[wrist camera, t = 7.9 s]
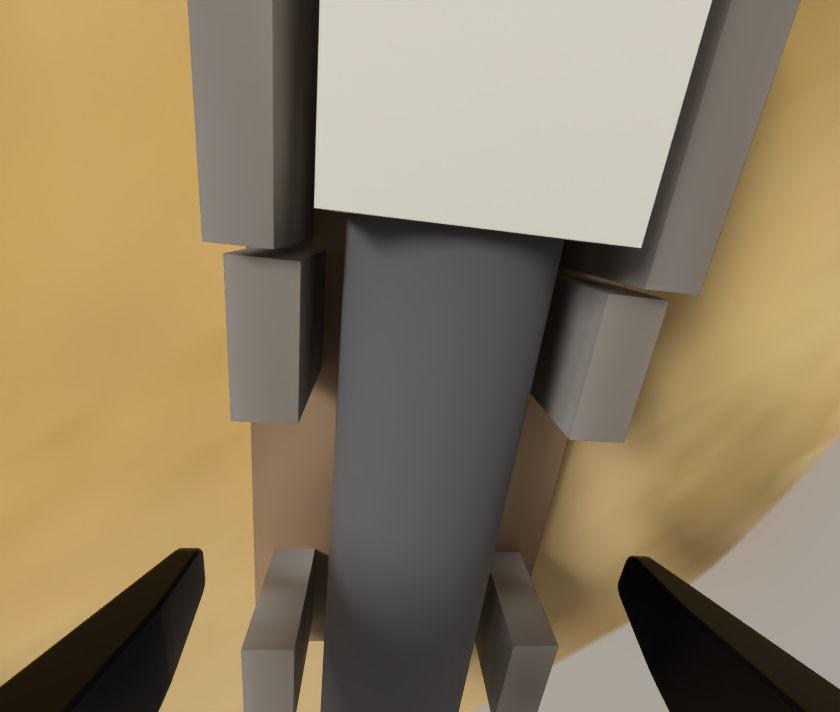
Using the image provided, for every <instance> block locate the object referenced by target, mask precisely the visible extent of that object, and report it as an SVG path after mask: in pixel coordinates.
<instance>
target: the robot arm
mask: <svg viewBox="0 0 840 712" xmlns="http://www.w3.org/2000/svg"><path fill="white" fill-rule="evenodd" d="M204 586H205V571H204V558H203V552H202V550H201V549H199V548H180V549H177V550H176V551H174V552H173V553H172V554H170V555H169V556H168V557H166V558H165V559H164V560H163V561H161V562H160V563H159V564H157V565H156V566H155V567H154V568H152V569H151V570H150V571H148V572H147V573H146V574H145V575H143V576H142V577H141V578H139V579H138V580H137V581H136V582H134V583H133V584H132V585H130V586H129V587H128V588H127V589H125V590H124V591H123V592H121V593H120V594H119V595H118V596H116V597H115V598H114V599H112V600H111V601H110V602H109V603H107V604H106V605H105V606H103V607H102V608H101V609H100V610H98V611H97V612H96V613H94V614H93V615H92V616H91V617H89V618H88V619H87V620H85V621H84V622H83V623H82V624H80V625H79V626H78V627H76V628H75V629H74V630H73V631H71V632H70V633H69V634H67V635H66V636H65V637H64V638H62V639H61V640H60V641H58V642H57V643H56V644H55V645H53V646H52V647H51V648H49V649H48V650H47V651H46V652H44V653H43V654H42V655H40V656H39V657H38V658H37V659H35V660H34V661H33V662H31V663H30V664H29V665H28V666H26V667H25V668H24V669H22V670H21V671H20V672H19V673H17V674H16V675H15V676H13V677H12V678H11V679H10V680H8V681H7V682H6V683H4V684H3V685H2V686H1V687H0V712H158V711H159V709H160V707H161V705H162V703H163V700H164V698H165V696H166V693H167V691H168V689H169V686H170V684H171V681H172V679H173V676H174V673H175V671H176V668H177V665H178V662H179V659H180V657H181V654H182V651H183V648H184V645H185V642H186V640H187V637H188V634H189V631H190V628H191V625H192V623H193V620H194V617H195V614H196V611H197V608H198V606H199V603H200V600H201V597H202V594H203V591H204ZM618 592H619V595H620V598H621V601H622V603H623V606H624V608H625V611H626V613H627V616H628V618H629V621H630V623H631V626H632V628H633V631H634V633H635V636H636V638H637V641H638V643H639V646H640V648H641V651H642V653H643V656H644V658H645V661H646V663H647V665H648V668H649V670H650V672H651V675H652V677H653V679H654V681H655V683H656V685H657V687H658V689H659V691H660V693H661V695H662V697H663V699H664V701H665V704H666V705H667V707H668V710H669V712H840V689H839V688H837V687H835V686H834V685H833V684H831V683H830V682H828V681H827V680H826V679H824V678H823V677H821V676H820V675H818V674H817V673H815V672H814V671H813V670H811V669H810V668H808V667H807V666H805V665H804V664H803V663H801V662H800V661H798V660H796V659H795V658H794V657H792V656H791V655H790V654H788V653H787V652H785V651H784V650H782V649H781V648H779V647H778V646H777V645H775V644H774V643H772V642H771V641H769V640H768V639H766V638H765V637H764V636H762V635H761V634H759V633H758V632H756V631H755V630H754V629H752V628H751V627H749V626H748V625H746V624H745V623H743V622H742V621H741V620H739V619H738V618H736V617H735V616H733V615H732V614H730V613H729V612H727V611H726V610H725V609H723V608H722V607H720V606H719V605H717V604H716V603H715V602H713V601H712V600H710V599H709V598H707V597H706V596H705V595H703V594H702V593H700V592H699V591H697V590H696V589H694V588H693V587H692V586H690V585H689V584H687V583H686V582H684V581H683V580H681V579H680V578H679V577H677V576H676V575H674V574H673V573H671V572H670V571H668V570H667V569H666V568H664V567H663V566H661V565H660V564H658V563H657V562H655V561H654V560H653V559H651V558H649V557H646V556H630V557H629V558H628V559H627V560H626V563H625V565H624V568H623V571H622V573H621V576H620V579H619V582H618Z"/></svg>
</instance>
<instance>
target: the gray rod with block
mask: <svg viewBox="0 0 840 712" xmlns="http://www.w3.org/2000/svg"><path fill="white" fill-rule="evenodd" d="M711 3H712V0H320V8H319V45H318V81H317V118H316V155H315V192H314V208H318V209H324V210H330V211H335V212H341V213H347V218H346V237H345V256H344V275H343V294H342V313H341V332H340V351H339V370H338V389H337V409H336V428H335V447H334V466H333V485H332V504H331V523H330V542H329V561H328V580H327V599H326V618H325V637H324V656H323V676H322V695H321V712H459V708H460V703H461V699H462V695H463V690H464V686H465V681H466V677H467V672H468V668H469V663H470V659H471V654H472V650H473V646H474V641H475V637H476V632H477V628H478V623H479V619H480V614H481V610H482V606H483V601H484V597H485V592H486V588H487V583H488V579H489V574H490V570H491V565H492V561H493V557H494V552H495V548H496V543H497V539H498V534H499V530H500V525H501V521H502V517H503V512H504V508H505V503H506V499H507V494H508V490H509V485H510V481H511V477H512V472H513V468H514V463H515V459H516V454H517V450H518V445H519V441H520V436H521V432H522V428H523V423H524V419H525V414H526V410H527V405H528V401H529V396H530V392H531V388H532V383H533V379H534V374H535V370H536V365H537V361H538V356H539V352H540V347H541V343H542V339H543V334H544V330H545V325H546V321H547V316H548V312H549V307H550V303H551V299H552V294H553V290H554V285H555V281H556V276H557V272H558V267H559V263H560V259H561V254H562V250H563V245H564V241H565V240H572V241H581V242H590V243H599V244H608V245H617V246H627V247H636V248H641V247H642V243H643V240H644V236H645V233H646V229H647V226H648V222H649V219H650V215H651V212H652V208H653V205H654V201H655V198H656V194H657V191H658V187H659V184H660V180H661V177H662V173H663V170H664V167H665V163H666V160H667V156H668V153H669V149H670V146H671V142H672V139H673V135H674V132H675V128H676V125H677V121H678V118H679V114H680V111H681V107H682V104H683V100H684V97H685V93H686V90H687V86H688V83H689V79H690V76H691V72H692V69H693V65H694V62H695V58H696V55H697V51H698V48H699V44H700V41H701V37H702V34H703V30H704V27H705V23H706V20H707V17H708V13H709V10H710V6H711Z"/></svg>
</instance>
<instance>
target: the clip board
mask: <svg viewBox="0 0 840 712" xmlns="http://www.w3.org/2000/svg"><path fill="white" fill-rule="evenodd" d="M799 3H800V0H712V3H711V6H710V10H709V13H708V17H707V20H706V23H705V27H704V30H703V34H702V37H701V41H700V44H699V48H698V51H697V55H696V58H695V62H694V65H693V69H692V72H691V76H690V79H689V83H688V86H687V90H686V93H685V97H684V100H683V104H682V107H681V111H680V114H679V118H678V121H677V125H676V128H675V132H674V135H673V139H672V142H671V146H670V149H669V153H668V156H667V160H666V163H665V167H664V170H663V173H662V177H661V180H660V184H659V187H658V191H657V194H656V198H655V201H654V205H653V208H652V212H651V215H650V219H649V222H648V226H647V229H646V233H645V236H644V240H643V243H642V247H641V248H636V247H627V246H617V245H608V244H599V243H590V242H581V241H572V240H565V241H564V245H563V250H562V254H561V259H560V263H559V267H558V272H557V276H556V281H555V285H554V290H553V294H552V299H551V303H550V307H549V312H548V316H547V321H546V325H545V330H544V334H543V339H542V343H541V347H540V352H539V356H538V361H537V365H536V370H535V374H534V379H533V383H532V388H531V392H530V396H529V401H528V405H527V410H526V414H525V419H524V423H523V428H522V432H521V436H520V441H519V445H518V450H517V454H516V459H515V463H514V468H513V472H512V477H511V481H510V485H509V490H508V494H507V499H506V503H505V508H504V512H503V517H502V521H501V525H500V530H499V534H498V539H497V543H496V548H495V552H494V557H493V561H492V565H491V570H490V574H489V579H488V583H487V588H486V592H485V597H484V601H483V606H482V610H481V614H480V619H479V623H478V628H477V632H476V637H475V643H476V647H477V652H478V656H479V661H480V665H481V670H482V675H483V679H484V684H485V688H486V693H487V697H488V702H489V706H490V711H491V712H537V711H538V708H539V705H540V702H541V698H542V696H543V693H544V690H545V687H546V683H547V680H548V677H549V674H550V671H551V668H552V665H553V662H554V659H555V655H556V652H557V649H558V644H557V641H556V639H555V636H554V634H553V632H552V629H551V627H550V624H549V622H548V619H547V617H546V615H545V612H544V610H543V607H542V605H541V602H540V600H539V598H538V595H537V593H536V590H535V588H534V585H533V583H532V581H531V574H532V570H533V567H534V563H535V559H536V556H537V552H538V548H539V544H540V541H541V537H542V533H543V529H544V526H545V522H546V518H547V514H548V511H549V507H550V503H551V500H552V496H553V492H554V488H555V485H556V481H557V477H558V473H559V470H560V466H561V462H562V459H563V455H564V451H565V447H566V444H567V440H568V439H569V440H583V441H601V442H619V443H624V441H625V438H626V435H627V432H628V428H629V425H630V422H631V419H632V416H633V413H634V410H635V407H636V404H637V400H638V397H639V394H640V391H641V388H642V385H643V382H644V379H645V376H646V372H647V369H648V366H649V363H650V360H651V357H652V354H653V351H654V348H655V344H656V341H657V338H658V335H659V332H660V329H661V326H662V323H663V320H664V316H665V313H666V310H667V307H668V304H669V300H666V299H662V298H659V297H655V296H652V295H648V294H645V293H641V292H637V291H634V290H630V289H627V288H623V287H620V286H616V285H612V284H609V283H610V280H611V281H615V282H619V283H623V284H627V285H630V286H634V287H638V288H642V289H646V290H655V291H664V292H674V293H683V294H692V295H699V294H700V291H701V288H702V285H703V282H704V279H705V276H706V273H707V271H708V268H709V265H710V262H711V259H712V256H713V253H714V250H715V247H716V244H717V242H718V239H719V236H720V233H721V230H722V227H723V224H724V221H725V218H726V215H727V212H728V210H729V207H730V204H731V201H732V198H733V195H734V192H735V189H736V186H737V183H738V181H739V178H740V175H741V172H742V169H743V166H744V163H745V160H746V157H747V154H748V152H749V149H750V146H751V143H752V140H753V137H754V134H755V131H756V128H757V125H758V122H759V120H760V117H761V114H762V111H763V108H764V105H765V102H766V99H767V96H768V93H769V91H770V88H771V85H772V82H773V79H774V76H775V73H776V70H777V67H778V64H779V61H780V59H781V56H782V53H783V50H784V47H785V44H786V41H787V38H788V35H789V32H790V30H791V27H792V24H793V21H794V18H795V15H796V12H797V9H798V6H799ZM319 8H320V0H188V16H189V33H190V49H191V65H192V82H193V98H194V114H195V131H196V147H197V164H198V180H199V196H200V213H201V229H202V241H203V242H212V243H221V244H230V245H240V246H246V249H242V250H238V251H233V252H228V253H224V254H223V257H224V279H225V301H226V324H227V346H228V368H229V390H230V413H231V421H241V422H251V445H252V483H253V521H254V558H255V596H256V607H255V610H254V613H253V616H252V619H251V622H250V625H249V628H248V631H247V634H246V637H245V640H244V643H243V646H242V649H241V658H242V680H243V702H244V712H296V710H297V704H298V699H299V693H300V687H301V682H302V676H303V670H304V664H305V659H306V653H307V647H308V642H309V641H324V637H325V618H326V599H327V580H328V561H329V542H330V523H331V504H332V485H333V466H334V447H335V428H336V409H337V389H338V370H339V351H340V332H341V313H342V294H343V275H344V256H345V237H346V218H347V213H341V212H335V211H330V210H324V209H318V208H314V192H315V155H316V118H317V81H318V45H319Z"/></svg>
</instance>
